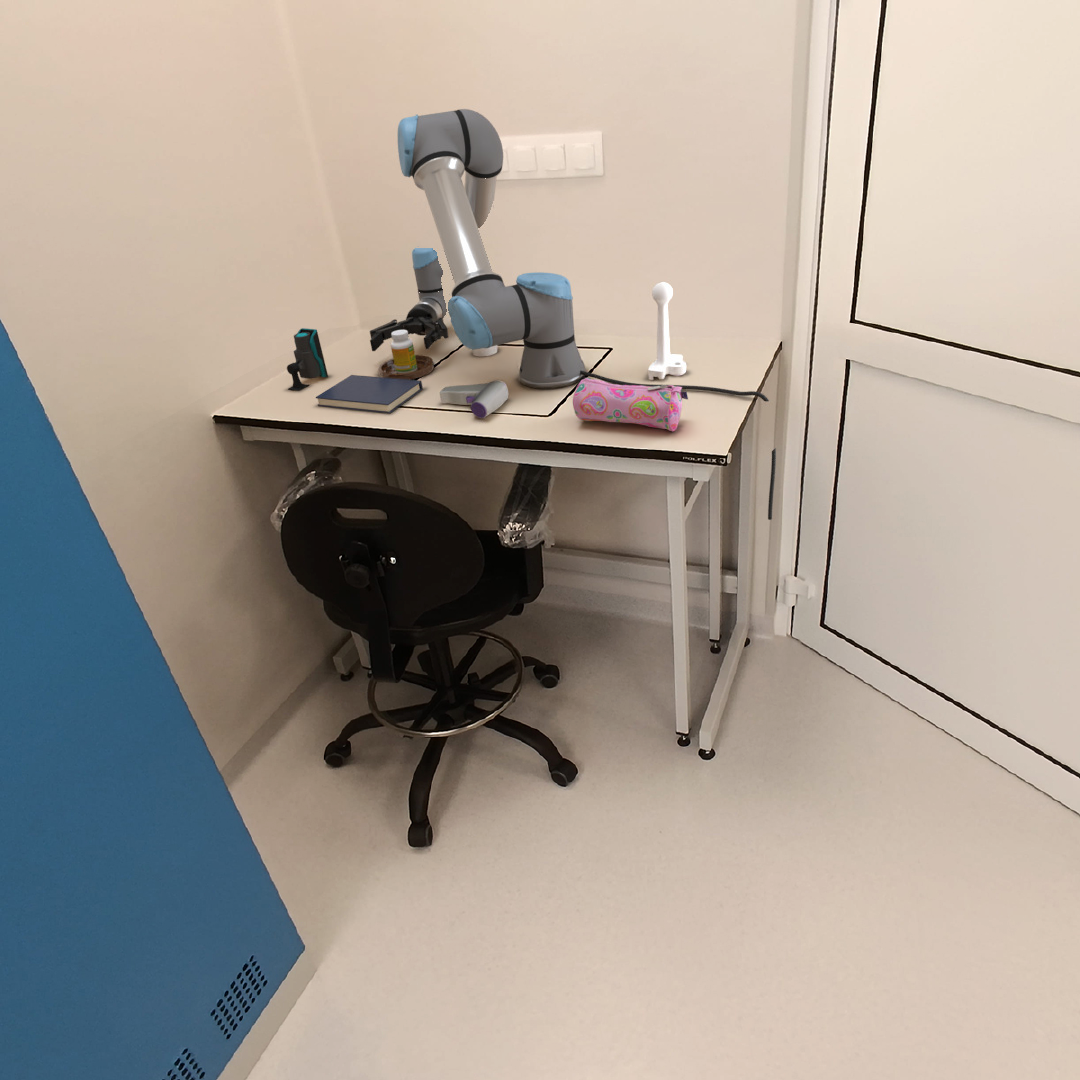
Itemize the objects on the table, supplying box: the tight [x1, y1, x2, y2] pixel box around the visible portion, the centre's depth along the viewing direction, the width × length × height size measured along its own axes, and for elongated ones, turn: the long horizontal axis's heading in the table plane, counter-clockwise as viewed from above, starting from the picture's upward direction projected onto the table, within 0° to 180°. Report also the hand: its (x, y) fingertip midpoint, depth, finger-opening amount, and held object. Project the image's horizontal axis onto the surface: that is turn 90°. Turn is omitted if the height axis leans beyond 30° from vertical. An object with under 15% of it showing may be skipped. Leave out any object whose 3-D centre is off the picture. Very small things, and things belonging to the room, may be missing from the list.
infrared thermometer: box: [439, 380, 509, 419], centre depth 174 cm, size 5×12×15 cm
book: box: [315, 374, 424, 414], centre depth 185 cm, size 20×14×2 cm
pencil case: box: [572, 377, 689, 432], centre depth 158 cm, size 21×9×9 cm, turn 64°
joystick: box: [647, 281, 687, 381], centre depth 176 cm, size 11×8×20 cm
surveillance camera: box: [286, 327, 329, 392], centre depth 195 cm, size 6×12×10 cm
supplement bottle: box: [390, 330, 417, 373], centre depth 196 cm, size 5×5×10 cm
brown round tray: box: [378, 354, 435, 380], centre depth 198 cm, size 13×13×2 cm
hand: (399, 344), depth 193 cm, fingers open, 13 cm apart
